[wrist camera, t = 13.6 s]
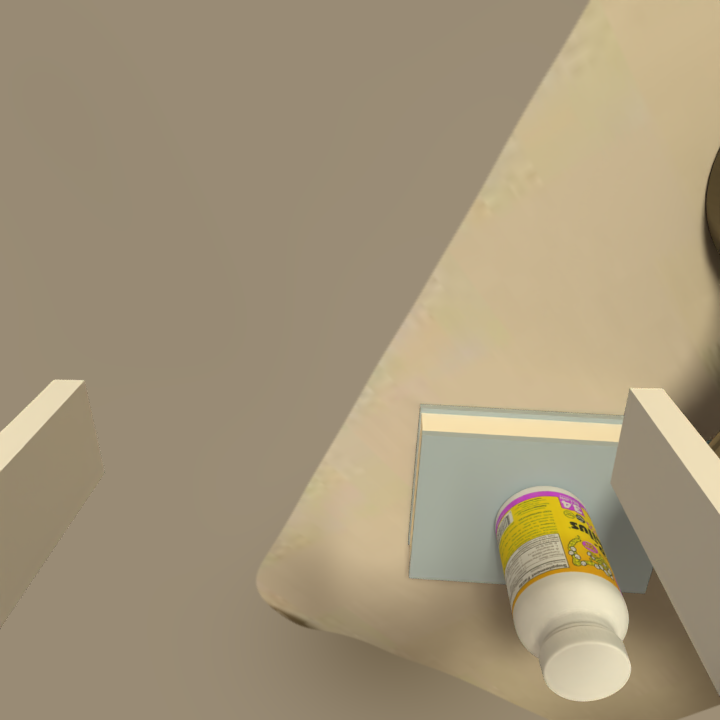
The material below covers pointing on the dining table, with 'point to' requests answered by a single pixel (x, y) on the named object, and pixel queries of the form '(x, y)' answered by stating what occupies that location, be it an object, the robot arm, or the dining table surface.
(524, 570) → the supplement bottle
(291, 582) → the dining table surface
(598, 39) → the dining table surface
